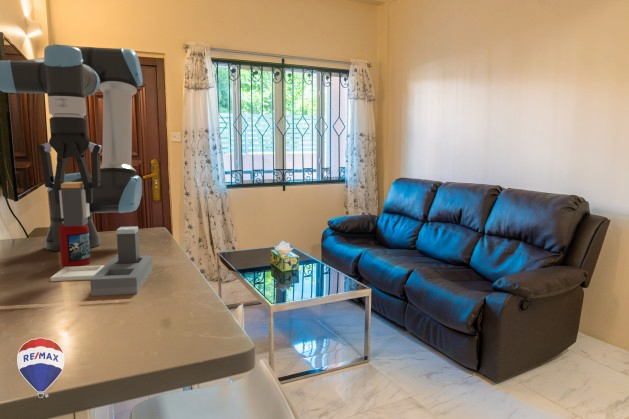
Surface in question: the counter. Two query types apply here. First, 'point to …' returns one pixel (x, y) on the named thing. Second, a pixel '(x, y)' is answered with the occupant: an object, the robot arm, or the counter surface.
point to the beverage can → (74, 245)
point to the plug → (72, 204)
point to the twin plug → (128, 245)
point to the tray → (76, 273)
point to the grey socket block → (121, 277)
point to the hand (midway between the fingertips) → (75, 216)
